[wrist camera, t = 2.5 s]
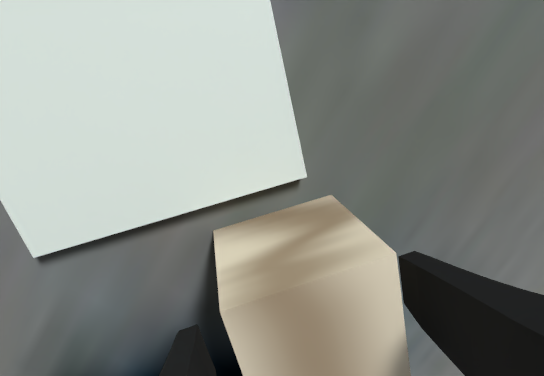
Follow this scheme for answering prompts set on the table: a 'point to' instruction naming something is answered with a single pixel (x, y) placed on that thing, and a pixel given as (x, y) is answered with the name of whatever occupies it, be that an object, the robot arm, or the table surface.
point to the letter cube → (311, 294)
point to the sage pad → (137, 113)
